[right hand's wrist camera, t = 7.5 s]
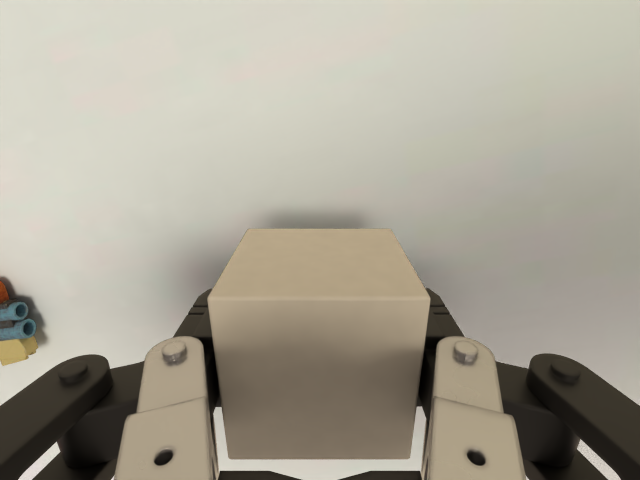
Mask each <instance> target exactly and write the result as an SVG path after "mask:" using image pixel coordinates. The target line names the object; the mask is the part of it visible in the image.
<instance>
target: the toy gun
mask: <svg viewBox="0 0 640 480" xmlns="http://www.w3.org/2000/svg"><path fill="white" fill-rule="evenodd" d="M27 314H28V306H27V305H26V303H24V302H18V301H17V299H13V300H9V296H8V293H7V290H6V287H5V285H4V284H3V283H2V282H1V281H0V361H1V363H2V366H4V365H8V364H11V363H15V362H19V361H22V360H26V359H28V355H31V354H34V353H36V349H37V348H38V345H37V342H36V339H35V338H34V336H33V335H34V334H35V332H36V323H35V322H34V320H32V319H30V318H29V319H24V318H25V317H26V316H27Z"/></svg>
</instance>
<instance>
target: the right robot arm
mask: <svg viewBox="0 0 640 480" xmlns="http://www.w3.org/2000/svg"><path fill="white" fill-rule="evenodd" d="M425 289H426V291H427V293H428V295H429V296H430V307H429V314H428V322H427V330H426V337H425V345H424V353H423V361H422V368H421V376H420V384H419V391H418V399H417V406H422V407H423V410H424V413H425V416H426V424H425V433H424V444H423V455H422V466H421V473H420V471H369V472H365V473H361V474H358V475H354V476H350V477H347V478H343V479H339V480H526V476H527V477H528V479H529V480H608V479H607V478H606V477H605V476H604V475H603V474H602V473H601V472H600V471H598V470H597V469H596V468H595V467H594V466H593V465H592V464H591V463H590V462H589V461H588V460H587V459H586V458H585V457H584V456H583V455H582V454H581V453H580V452H579V451H578V450H577V447H578V444H579V441H580V439H581V440H582V441H584V442H585V443H586V444H587V445H588V446H589V447H590V448H591V449H592V450H593V451H594V452H595V453H596V454H597V455H598V456H599V457H601V458H602V459H603V460H604V461H605V462H606V463H607V464H608V465H609V466H610V467H611V468H612V469H613V470H614V471H615V472H616V473H617V474H618V476H619V477H620V479H621V480H640V406H639V405H638V404H636V403H635V402H634V401H632V400H631V399H629V398H628V397H627V396H625V395H624V394H623V393H621V392H620V391H618V390H617V389H616V388H614V387H613V386H611V385H610V384H609V383H607V382H606V381H605V380H603V379H602V378H600V377H599V376H598V375H596V374H595V373H594V372H592V371H591V370H589V369H588V368H587V367H585V366H584V365H582V364H580V363H578V362H577V361H574V360H572V359H570V358H567V357H564V356H560V355H556V354H539V355H536V356H534V357H533V358H532V359H531V361H530V365H529V369H527V368H522V367H518V366H513V365H508V364H504V363H500V362H496V361H495V357H494V355H493V353H492V352H491V351H490V350H489V349H488V348H487V347H486V346H484V345H483V344H481V343H480V342H478V341H475V340H473V339H470V338H466V337H464V335H463V334H462V332H461V330H460V329H459V327H458V326H457V324H456V322H455V321H454V319H453V318H452V316H451V315H450V314H449V311H448V309H447V308H446V307H445V305H444V303H443V301H442V300H441V298H440V297H439V296H438V295H437V294H435V293H434V292H433V291H431V290H430V289H428V288H425ZM211 291H212V289H209V290H207V291H206V292H204V293H203V294H202V295H200V296H199V297H198V299H197V300H196V302H195V303H194V305H193V307H192V308H191V310H190V311H189V313H188V315H187V316H186V318H185V319H184V321H183V322H182V324H181V325H180V327H179V329H178V330H177V332H176V333H175V335H174V336H173V338H170V339H167V340H165V341H162V342H160V343H159V344H157V345H156V346H154V347H153V348H152V349H151V350H150V351H149V352H148V353H147V355H146V357H145V361H142V362H140V363H136V364H132V365H127V366H122V367H118V368H113V369H110V367H109V363H108V360H107V359H106V358H105V357H103V356H100V355H83V356H78V357H75V358H72V359H69V360H67V361H64V362H62V363H60V364H58V365H57V366H55V367H53V368H52V369H51V370H49V371H48V372H46V373H45V374H44V375H42V376H41V377H40V378H38V379H37V380H35V381H34V382H33V383H31V384H30V385H28V386H27V387H26V388H24V389H23V390H22V391H20V392H19V393H17V394H16V395H15V396H13V397H12V398H11V399H9V400H8V401H6V402H5V403H4V404H2V405H1V406H0V480H18V479H19V477H20V476H21V475H22V474H23V473H24V472H25V471H26V470H27V469H28V468H29V467H30V466H31V465H32V464H33V463H34V462H35V461H36V460H37V459H38V458H39V457H41V456H42V455H43V454H44V453H45V452H46V451H47V450H48V449H49V448H50V447H51V446H52V445H53V444H54V443H55V442H56V441H57V443H58V446H59V449H60V451H61V452H60V453H59V454H58V455H57V456H56V457H55V458H54V459H53V460H52V461H51V462H50V463H49V464H48V465H47V466H46V467H45V468H44V469H43V470H41V471H40V472H39V473H38V474H37V475H36V476H35V477H34V478H33V479H32V480H111V479H112V477H113V476H114V475H115V476H114V480H301V479H297V478H293V477H290V476H286V475H282V474H279V473H275V472H271V471H220V473H219V466H218V455H217V444H216V433H215V424H214V417H213V412H214V409H215V407H222V405H221V398H220V390H219V383H218V375H217V368H216V360H215V353H214V345H213V338H212V330H211V323H210V315H209V308H208V300H207V299H208V296H209V294H210V293H211ZM525 475H526V476H525Z"/></svg>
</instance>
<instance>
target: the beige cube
mask: <svg viewBox="0 0 640 480" xmlns="http://www.w3.org/2000/svg"><path fill="white" fill-rule="evenodd" d="M207 300H208V308H209V315H210V323H211V330H212V338H213V345H214V353H215V360H216V368H217V375H218V383H219V390H220V398H221V405H222V413H223V420H224V428H225V435H226V443H227V450H228V457H229V459H409V458H410V453H411V445H412V438H413V430H414V422H415V414H416V407H417V399H418V391H419V384H420V376H421V368H422V361H423V353H424V345H425V337H426V330H427V322H428V314H429V307H430V296H429V295H428V293H427V291H426V289H425V288H424V286H423V284H422V282H421V281H420V279H419V277H418V275H417V274H416V272H415V270H414V268H413V267H412V265H411V263H410V261H409V260H408V258H407V256H406V255H405V253H404V251H403V249H402V248H401V246H400V244H399V242H398V241H397V239H396V237H395V235H394V234H393V232H392V230H391V229H248V230H247V231H246V233H245V235H244V236H243V238H242V240H241V241H240V243H239V245H238V247H237V248H236V250H235V252H234V253H233V255H232V257H231V259H230V260H229V262H228V264H227V265H226V267H225V269H224V270H223V272H222V274H221V276H220V277H219V279H218V281H217V282H216V284H215V286H214V288H213V289H212V291H211V293H210V294H209V296H208V299H207Z"/></svg>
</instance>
